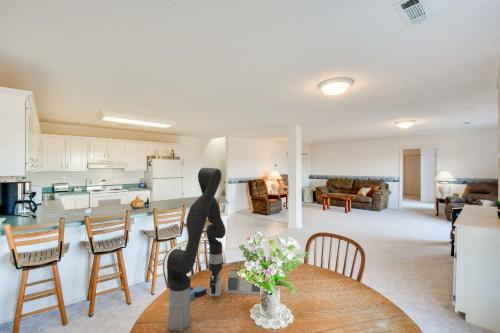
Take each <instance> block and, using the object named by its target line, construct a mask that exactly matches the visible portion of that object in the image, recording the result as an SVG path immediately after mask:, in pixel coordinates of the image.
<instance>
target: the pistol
mask: <svg viewBox="0 0 500 333" xmlns="http://www.w3.org/2000/svg"><path fill="white" fill-rule="evenodd" d="M207 291H208V289H207V288H206V287H204V286H203V285H201V286H200V285H199V286H196V287H193V286H191V289H190V303H191V302H193V301H195V298H197V297H198V298H199V297H201V296H204V295H206V294H207Z"/></svg>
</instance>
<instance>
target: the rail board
mask: <svg viewBox="0 0 500 333" xmlns="http://www.w3.org/2000/svg"><path fill="white" fill-rule="evenodd" d="M238 270H239V269H230V273H229V275H228V279H227V282H226V285H225V288H224V293H225V294H227V293H228V294H238V295H239V294H241V295H258V296H259V295H260V288H259V287H257V286H255V285H254V284H252V283H249V282H247V281H246V280H245V279H246V278H245V279H244V278H240V276H238V274H237V271H238ZM260 296H261V295H260Z"/></svg>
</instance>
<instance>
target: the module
mask: <svg viewBox="0 0 500 333" xmlns="http://www.w3.org/2000/svg"><path fill="white" fill-rule="evenodd" d="M215 281H216V280H215ZM212 285H214V284H212ZM221 294H222V278H221V277H220V278H218V280H217V283H216V293H215V294H211V288H210V279H209V280H208V297H211V296H212V297H220V296H221Z"/></svg>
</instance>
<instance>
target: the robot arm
mask: <svg viewBox="0 0 500 333" xmlns="http://www.w3.org/2000/svg"><path fill="white" fill-rule="evenodd" d="M197 180H198V185H199V188H200V190H201V195H200V196H199V197H198V198H197V199H196V200H195V201H194V202H193V204H192V205H191V206H190V209H189V210H188V214H187V217H186V222H185V225H186V231H187V236H188V237H187V243H186V247H185V249H179V248H175V249H173V250H172V251H170V252H169V254H168V257H167V260H166V275H167V278H166V279H167V282H168V286H169V287H168V331H171V332H172V331H173V332H174V331H175V332H183V331H184V330H185V329H187V328H188V327H189V326H190V325H191V302H190V289H191V287H192V286H191V284H192V281H191V278H190V277H189V276H188V274H189V273H190V272H191V271H192V270H193V267H194V266H195V263H196V258H197V255H198V250H199V246H200V242H201V238H202V235H203V232H204V228H205V225H206V223H207V221H208V222H209V223H210V224H208V226H206V231H205V232H206V238H207V243H208V245H209V246H208V249H209V251H208V270H209V271H210V272H211V274H210V278H209V280H210V288H211V294H215V293H216V283H217V280H218V278H221V271H222V270H223V243H222V242H221V241H219V240H218V239H223V238H224V237H225V236H226V233H227V232H226V225H225V224H224V221H223V218H222V217H221V209H220V208H221V207H220V205H219V202H218V201H217V199H216V198H215V195H216V193H217V192H218V189H219V186H220V185H221V184H220V183H221V181H222V171H221V170H220V169H219V168H216V167H214V168H213V167H202V168H200V169H199V170H198V173H197ZM215 280H216V281H215ZM212 284H214V285H212Z"/></svg>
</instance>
